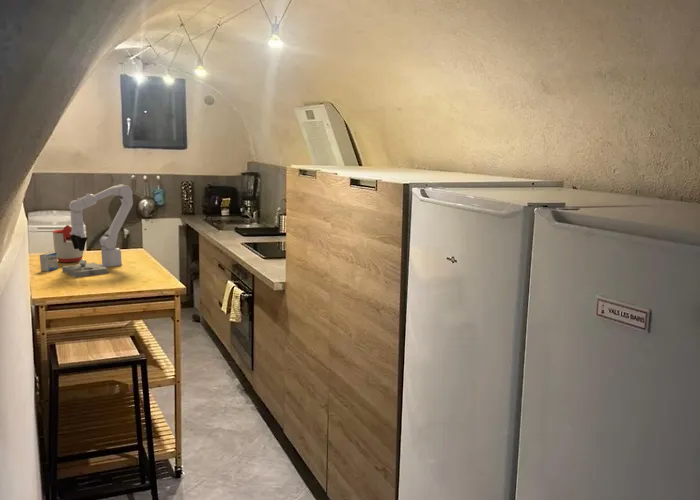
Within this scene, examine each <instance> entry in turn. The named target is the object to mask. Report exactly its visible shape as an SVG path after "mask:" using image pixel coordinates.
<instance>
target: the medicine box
mask: <svg viewBox="0 0 700 500" xmlns="http://www.w3.org/2000/svg"><path fill="white" fill-rule="evenodd" d="M39 260H40V261H39V263H40V271H41V272H51V270H52V271H54V270H57V269H58V268H59V265H58V264H59V263H58V259H57V253H56V252H55V251H52V252H45V253H43V254H39Z"/></svg>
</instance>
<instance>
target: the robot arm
mask: <svg viewBox="0 0 700 500" xmlns="http://www.w3.org/2000/svg"><path fill="white" fill-rule="evenodd" d="M133 194H134V191H133V190H132V187H131V186H129V185H127V184H123V183H122V184H119V183H118V184H117V185H113V186H111V187H108V188H106V189H104V190H102V191H100V192H97V193H95V194H93V193H86V194H85V196H83V197H78V198H77V199H74V200H71V201H70V203H69V205H68V209H69V210H70V224H71V226H70V227H71V228H72V231H71V233H70V234H71V235H72V236H69V237H70V239H71V241H72V243H73V246H74V249H79V250H80V251H83V252H84V251H85V247H86V243H87V240H88V236H86V234H85V226H84V217H83V210H85V209H87V208H89V207H91V206H94V205H96V204H97V202H98V201H100V200H102V199H105V198H108V197H110V196H117V197H118V198H119V199H120V202H121V205H120V206H119V209H118V211H117V212H116V214H115V217H114V218H113V220H112V222H111V224H110V226H109V228H108V229H107V230H106V231H105V233H104V235H102V236H101V237H100V239H99V244H100V246H101V248H100V250H101V251H100V253H101V263H98V264H99V265H101V266H104V267H106V268H108V267H114V266H115V267H116V266H122V265H123V264H122V253H121V248H119V247H116V246H117V240H118V238H119V237H118V236H119V232H120V230H121V229H122V226H123V224H124V223H125V220H126V219H127V217H128V215H129V213H130V211H131V210H132V208H133V204H134V199H133Z"/></svg>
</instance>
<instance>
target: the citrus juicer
mask: <svg viewBox="0 0 700 500" xmlns="http://www.w3.org/2000/svg"><path fill="white" fill-rule="evenodd" d="M71 231H72V226H70V225H68V224H66V225H65V227H64V228H62V229H55V230H52V235H53V236H52V237H53V247H54V249H53V250H54V252H56V253H57V262H60V263H63V264H67V263H79V261H80V260H82V259H83V255H84V251H80V250H79V249H74V246H73V243H72V241H71V239H70V237H69V236H72V235H71V234H70V233H71Z"/></svg>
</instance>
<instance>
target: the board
mask: <svg viewBox="0 0 700 500" xmlns="http://www.w3.org/2000/svg"><path fill="white" fill-rule="evenodd" d="M99 264H100V263H96V262H87V263H86V265H85V266H81V265H80V264H79V263H78V264H71V265H63V266H62V269H61V270H62V272H63V273H66V274H68V275H70V276H72V277H74V278H83V277H89V276H96V275H97V276H99V275H103V274H109V268H108V267H104V266H101V265H99Z"/></svg>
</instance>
